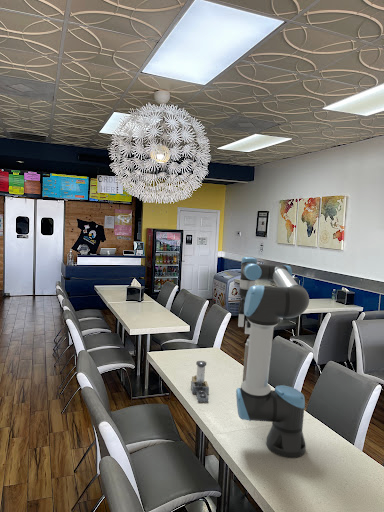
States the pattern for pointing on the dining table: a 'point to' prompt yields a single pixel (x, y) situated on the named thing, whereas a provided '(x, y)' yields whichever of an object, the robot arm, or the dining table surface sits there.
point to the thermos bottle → (246, 359)
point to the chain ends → (200, 390)
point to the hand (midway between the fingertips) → (244, 330)
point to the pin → (200, 373)
